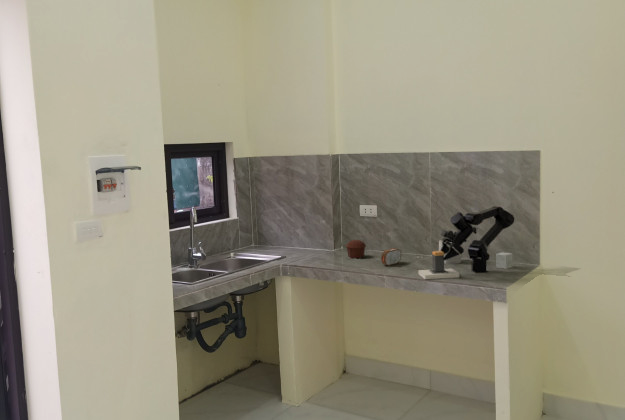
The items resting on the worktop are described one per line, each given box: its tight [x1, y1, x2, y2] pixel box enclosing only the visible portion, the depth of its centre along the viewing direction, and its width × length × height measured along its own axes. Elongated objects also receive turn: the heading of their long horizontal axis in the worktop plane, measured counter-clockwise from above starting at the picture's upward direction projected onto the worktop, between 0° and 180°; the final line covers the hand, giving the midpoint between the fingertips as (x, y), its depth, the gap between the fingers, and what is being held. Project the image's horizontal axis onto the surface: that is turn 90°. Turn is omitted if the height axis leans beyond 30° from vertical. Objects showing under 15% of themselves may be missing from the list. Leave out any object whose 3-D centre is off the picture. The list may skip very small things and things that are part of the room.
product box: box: [495, 251, 514, 270], centre depth 326 cm, size 6×6×7 cm
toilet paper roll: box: [438, 239, 462, 265], centre depth 346 cm, size 12×12×12 cm
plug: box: [432, 250, 445, 273], centre depth 312 cm, size 4×4×12 cm
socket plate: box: [418, 268, 460, 280], centre depth 313 cm, size 17×12×2 cm
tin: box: [380, 247, 402, 266], centre depth 346 cm, size 15×3×8 cm, turn 134°
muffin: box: [345, 239, 367, 259], centre depth 371 cm, size 12×11×10 cm
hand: (441, 258), depth 312 cm, fingers open, 9 cm apart
